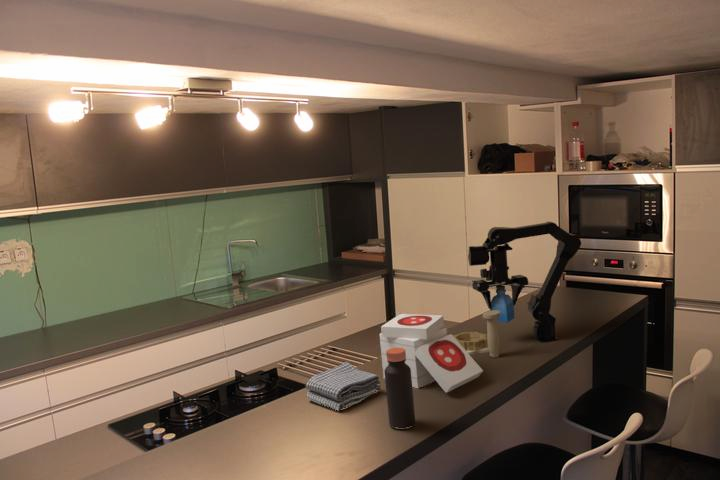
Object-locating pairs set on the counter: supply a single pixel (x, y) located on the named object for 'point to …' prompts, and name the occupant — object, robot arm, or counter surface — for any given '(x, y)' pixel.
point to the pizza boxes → (428, 351)
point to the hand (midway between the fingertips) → (501, 306)
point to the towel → (342, 386)
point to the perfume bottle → (503, 305)
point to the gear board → (473, 342)
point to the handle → (492, 332)
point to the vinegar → (399, 389)
